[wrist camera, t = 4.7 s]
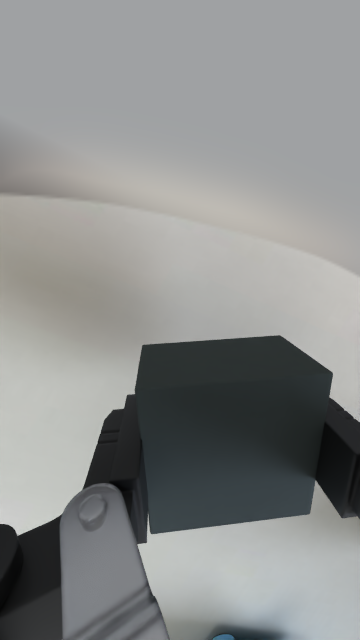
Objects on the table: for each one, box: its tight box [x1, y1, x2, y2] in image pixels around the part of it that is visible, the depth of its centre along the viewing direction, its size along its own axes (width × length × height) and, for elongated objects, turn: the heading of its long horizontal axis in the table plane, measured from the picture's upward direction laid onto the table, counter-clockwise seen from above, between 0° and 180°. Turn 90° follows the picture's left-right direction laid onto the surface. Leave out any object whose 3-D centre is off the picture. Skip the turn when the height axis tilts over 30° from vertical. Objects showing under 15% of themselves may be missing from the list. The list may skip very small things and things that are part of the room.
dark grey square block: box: [135, 335, 333, 534], centre depth 8 cm, size 5×5×3 cm
